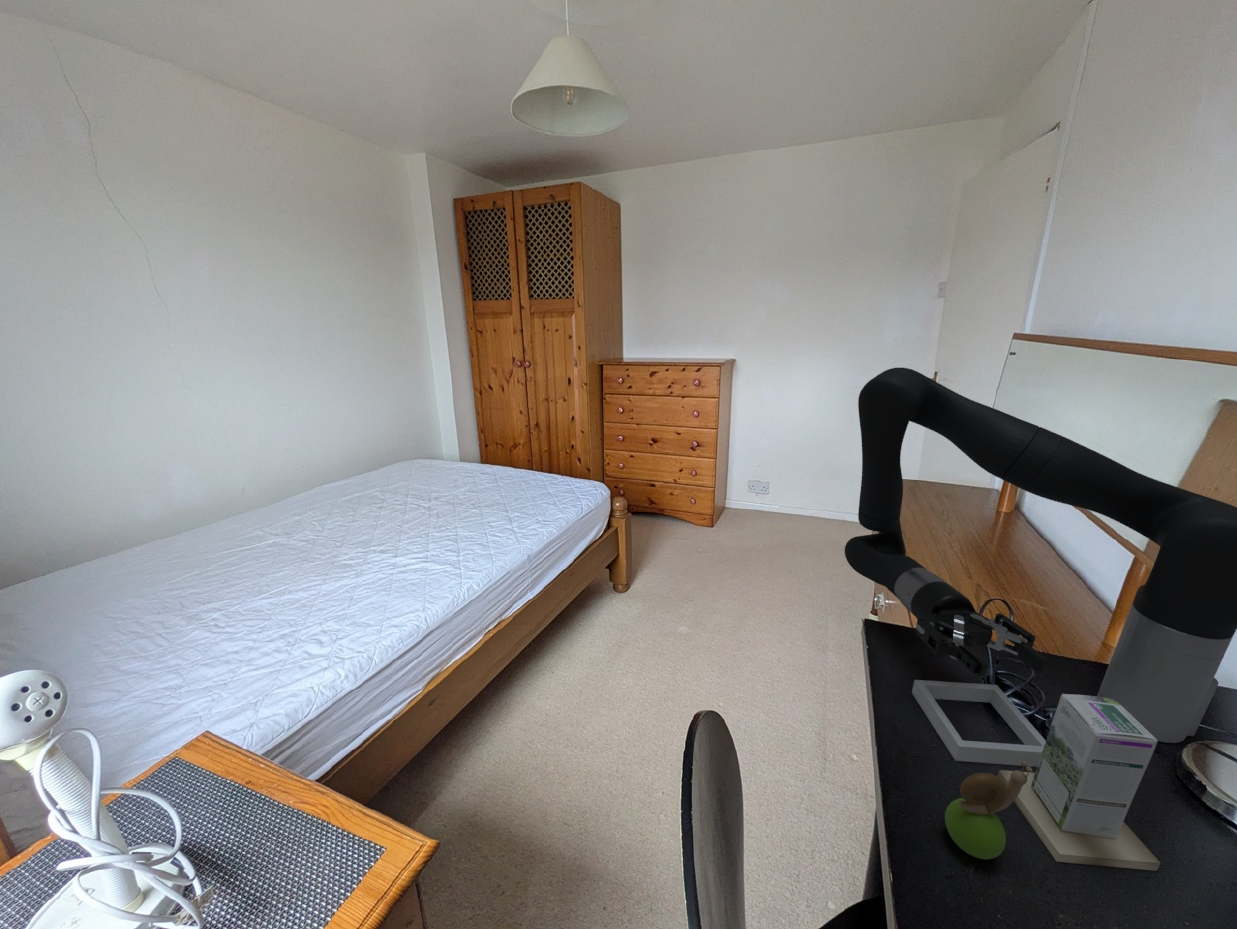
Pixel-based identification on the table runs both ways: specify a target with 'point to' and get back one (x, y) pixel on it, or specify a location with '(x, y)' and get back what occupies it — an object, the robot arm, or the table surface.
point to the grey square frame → (972, 749)
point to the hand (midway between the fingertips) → (1014, 670)
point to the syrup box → (1092, 765)
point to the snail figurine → (983, 812)
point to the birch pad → (1080, 837)
